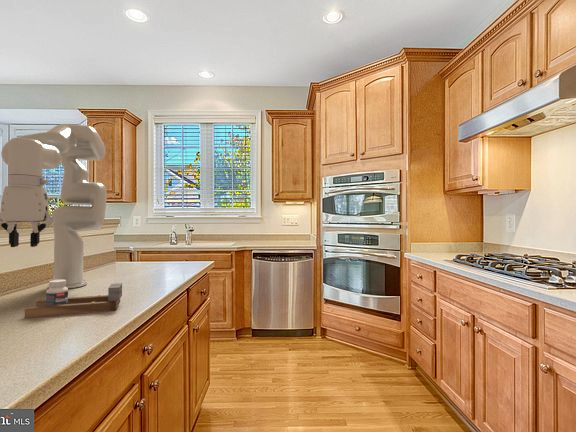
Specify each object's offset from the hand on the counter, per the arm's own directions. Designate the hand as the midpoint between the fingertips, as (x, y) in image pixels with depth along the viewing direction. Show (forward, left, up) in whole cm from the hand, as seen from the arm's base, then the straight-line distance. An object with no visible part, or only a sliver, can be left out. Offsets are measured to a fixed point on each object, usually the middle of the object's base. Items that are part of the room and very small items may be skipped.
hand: (24, 245), depth 89 cm
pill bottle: (0, +8, -19) cm, 21 cm away
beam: (0, +13, -19) cm, 23 cm away
